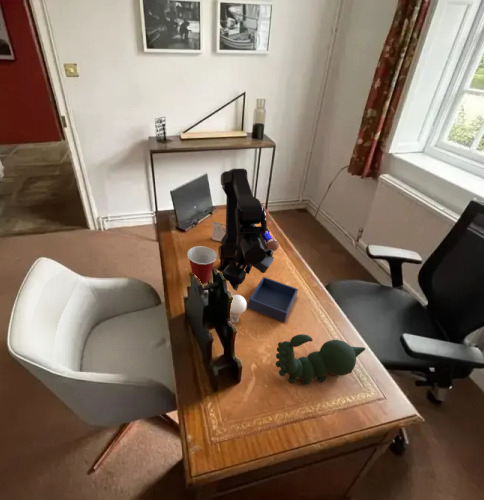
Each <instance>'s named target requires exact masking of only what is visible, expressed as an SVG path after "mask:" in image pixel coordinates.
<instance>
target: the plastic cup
mask: <svg viewBox="0 0 484 500" xmlns="http://www.w3.org/2000/svg"><path fill="white" fill-rule="evenodd" d="M186 255H187V258H188V261H189V265H190V270H191V274H192V273H194V274H195V275H196V276H197V277H198V278H199V279H200V281H201V283H202V285H204V284H206V283H208V282H209V280H210V277H211V274H212V270H213V266H214V263H215V261H217V258H218V253H217V252H216V251H215V250H214V249H213V248H211V247H208V246H203V245H202V246H201V245H197V246H193V247H191V248H189V249H188V251H187V254H186Z"/></svg>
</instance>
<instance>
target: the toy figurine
mask: <svg viewBox="0 0 484 500" xmlns="http://www.w3.org/2000/svg"><path fill="white" fill-rule="evenodd" d="M313 341H314V340H313V338H312V337H311V335H308V334H304V333H303V334H296V335H293V336H292V337H291V338H290V340H289V341H288V340H283V341H282V342H281V341H279V342H277V347H276V352H277V353H276V354H275V358H276V359H277V361H276V362H275V367H277V368H279V369H280V370H278V375H279V376H280V377H285V376H286V374H287V375H288V378H287V381H288V382H289V383H290V384H292V385H293V384H295V383H296V382H297V379H299V380H302V384H304V385H305V386H308V385H310V383H311V380H313V379H314V378H316V379H317V381H318V382H320V383H326V382H327V379H328V378H327V376H328V375H329V374H330V375H332V376H337V377H342V376H347V375H348V374H351V373H353V370H354V369H355V367H356V364H357V357H358V356H360V355H361V354H362V353H363V352H364V351H365V350H366V347H364V346H351V345H350V344H349V343H347V342H346V341H344V340H341V339H331V340H327V341H326V342H324V343H323V344H322V345H321V347H320V349H319V350H316V351H315V350H314V351H312V352H309V354H308V355H307V356H300V357H298V358H296V357H295V351H294V350H295V348H297V347H300V346H302V345H304V344H307V343H309V342H313Z"/></svg>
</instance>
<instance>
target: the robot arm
mask: <svg viewBox="0 0 484 500" xmlns="http://www.w3.org/2000/svg"><path fill="white" fill-rule="evenodd" d="M248 177H249V176H248V170H247V169H246V168H232V169H229V170H226V171H223V172H222V173H221V174H220V185H221V188H222V190H223V192H224V194H225V195H226V204H225V224H226V226H225V228H226V234H225V235H224V237H223V238H222V240H221V242H220V245H219V246H218V247H217V255H218V259H219V261H220V262H219V267H217V270H218V271H221V275H222V274H223V276H224V278H225V279H226V280H225V279H224V280H225V281H227V282H229V284H230V285H231V288H232V289H233V290H234V291H238V290H239V287H240V285H242V284H243V282H244V281H245V279H246V276H247V275H248V274H250V272H251V270H252V268H255V269H256V270H258V271H259V273H261V274H265V273H266V272H267V270H269V268H270V266H271V265H272V264H273V261H274V251H273V250H271V249H270V248H268V249H266V250H265V249H264V247H263V245H262V243H261V240H260V234H265V233H266V232H265V228H266V227H267V228H268V223H267V222H268V221H267V214H266V213H267V212H266V211H265V208H264V207H263V204H262V203H261V201H260V199H259V198H256V197H255V196H254V195H253V192H252V189H251V185H250V182H249V179H248ZM256 225H260V226H256Z"/></svg>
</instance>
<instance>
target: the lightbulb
mask: <svg viewBox="0 0 484 500" xmlns="http://www.w3.org/2000/svg"><path fill="white" fill-rule="evenodd" d="M231 296H232V297H233V300H232V303H231V309H230V312H229V313H230V321H231V323H233V324H237V323H239V322H240V317H241V315H242V314H243V313H245V312H246V310H247V308H248V304H247V300H246V298H245V297H244V296H243V295H241V294H233V295H231Z"/></svg>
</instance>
